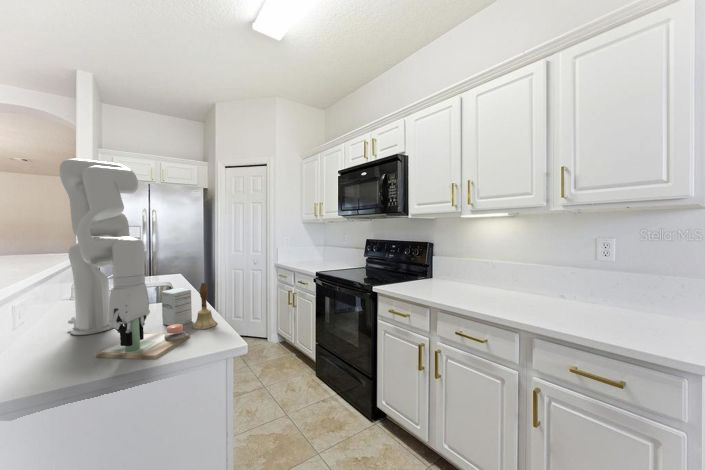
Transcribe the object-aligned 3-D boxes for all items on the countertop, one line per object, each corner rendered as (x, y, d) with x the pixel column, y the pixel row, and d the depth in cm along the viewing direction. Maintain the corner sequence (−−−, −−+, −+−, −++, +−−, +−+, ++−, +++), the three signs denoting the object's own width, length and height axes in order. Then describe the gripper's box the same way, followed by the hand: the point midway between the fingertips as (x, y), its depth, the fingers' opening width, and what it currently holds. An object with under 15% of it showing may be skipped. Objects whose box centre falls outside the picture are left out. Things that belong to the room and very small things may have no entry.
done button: (163, 333, 97) (163, 328, 97) (172, 328, 102) (172, 323, 102) (177, 333, 97) (177, 329, 97) (186, 328, 101) (186, 324, 101)
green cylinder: (121, 352, 88) (119, 314, 88) (131, 346, 92) (130, 309, 91) (134, 352, 88) (132, 314, 87) (143, 346, 92) (142, 310, 91)
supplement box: (161, 324, 115) (160, 291, 114) (180, 318, 121) (179, 287, 120) (173, 327, 111) (172, 293, 110) (192, 321, 118) (191, 289, 117)
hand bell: (187, 328, 110) (185, 285, 109) (202, 321, 118) (200, 280, 117) (207, 330, 109) (206, 285, 108) (221, 322, 117) (220, 281, 116)
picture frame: (96, 357, 88) (95, 350, 88) (138, 335, 104) (138, 329, 103) (155, 358, 86) (155, 352, 86) (189, 336, 102) (189, 331, 102)
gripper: (139, 275, 97) (141, 331, 98) (91, 287, 81) (94, 354, 82) (161, 275, 97) (163, 332, 98) (118, 287, 80) (121, 355, 81)
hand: (132, 341), depth 90 cm, fingers closed on green cylinder, 3 cm apart
